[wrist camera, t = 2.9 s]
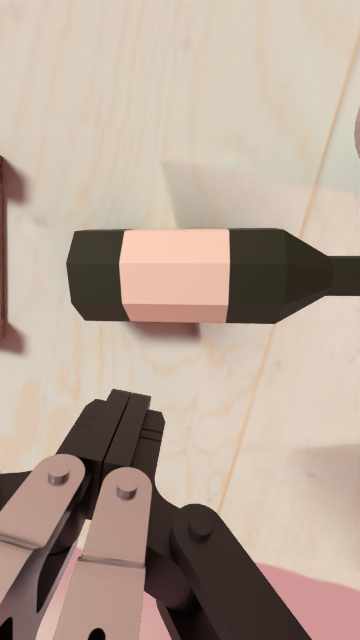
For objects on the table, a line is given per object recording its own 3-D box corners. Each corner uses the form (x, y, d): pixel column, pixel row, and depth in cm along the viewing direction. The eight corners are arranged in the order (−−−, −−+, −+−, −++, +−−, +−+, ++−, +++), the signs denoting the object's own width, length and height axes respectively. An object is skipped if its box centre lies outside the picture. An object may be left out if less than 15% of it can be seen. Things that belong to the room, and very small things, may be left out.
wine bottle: (100, 323, 32) (408, 328, 29) (63, 317, 23) (489, 323, 21) (103, 243, 32) (406, 242, 30) (68, 210, 24) (483, 204, 21)
